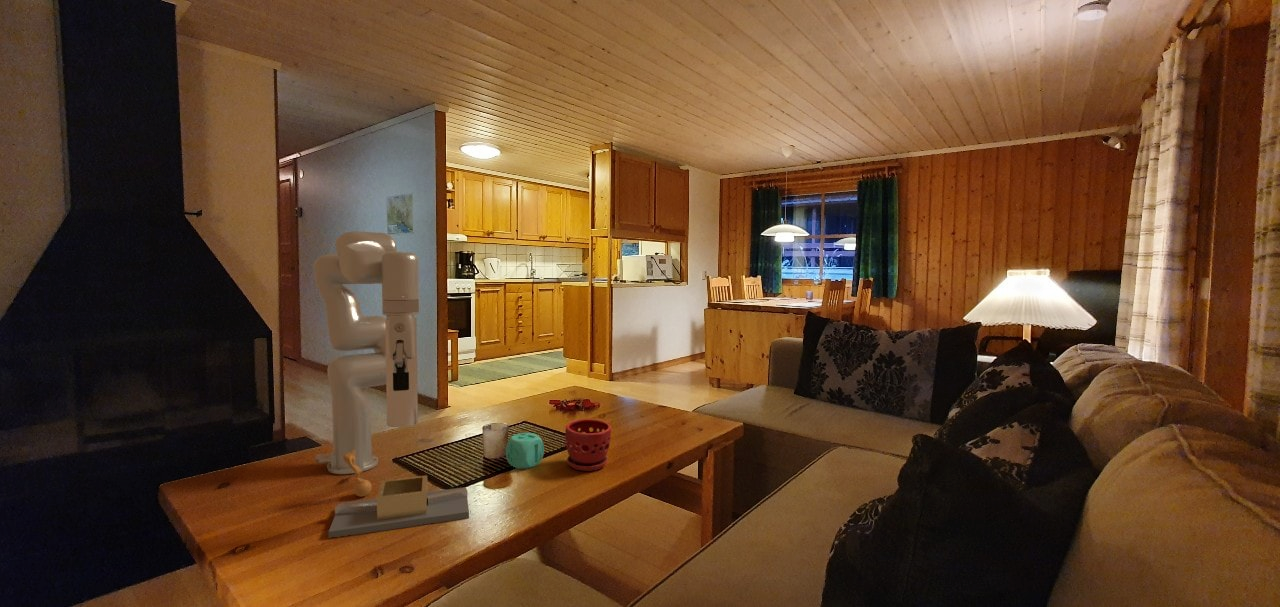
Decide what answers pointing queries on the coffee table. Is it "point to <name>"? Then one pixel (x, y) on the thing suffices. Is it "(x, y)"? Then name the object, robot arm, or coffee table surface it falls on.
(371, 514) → the base plate
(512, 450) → the decorative dice
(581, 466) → the plant pot
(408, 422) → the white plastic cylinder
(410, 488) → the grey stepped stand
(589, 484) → the coffee table surface
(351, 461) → the figurine
